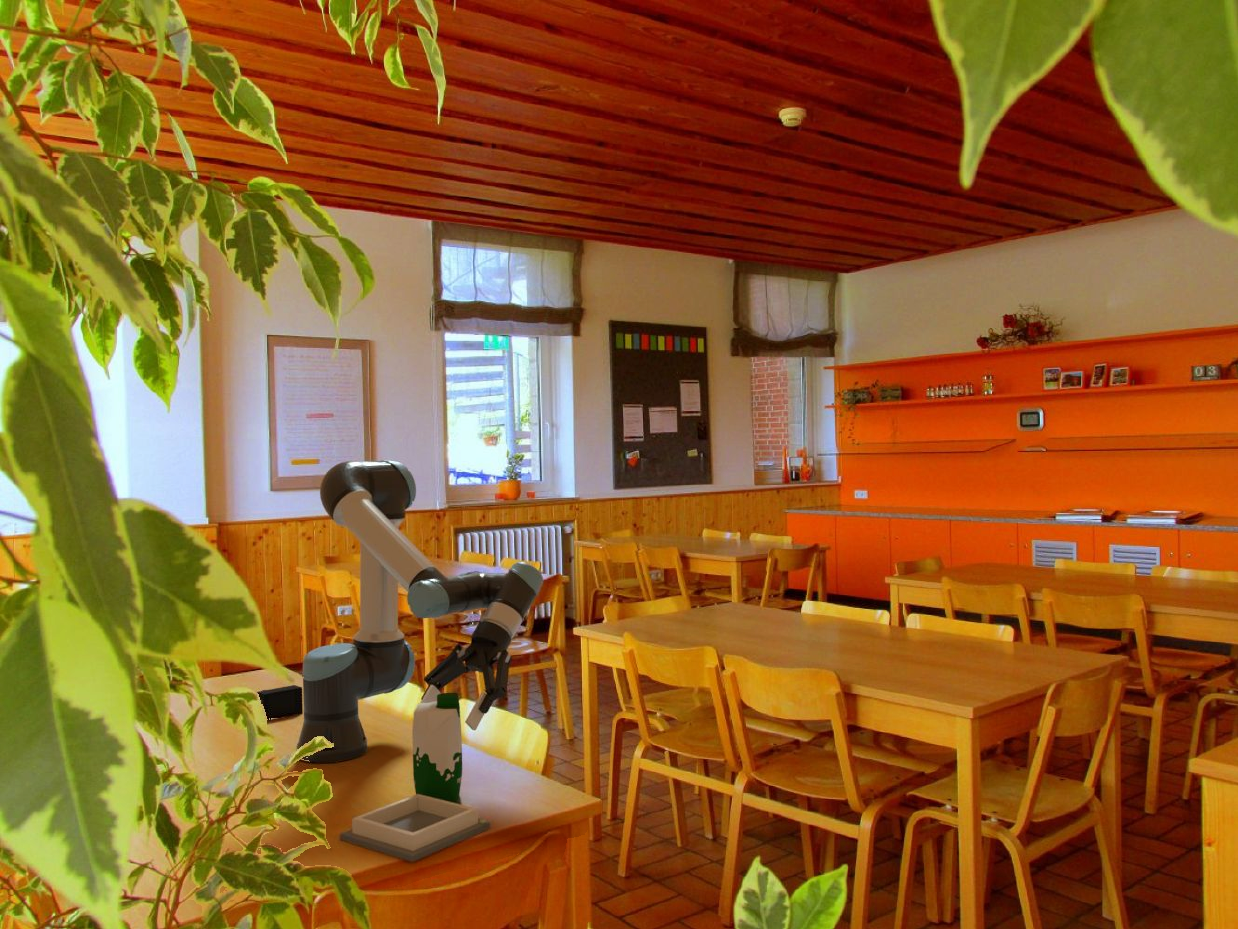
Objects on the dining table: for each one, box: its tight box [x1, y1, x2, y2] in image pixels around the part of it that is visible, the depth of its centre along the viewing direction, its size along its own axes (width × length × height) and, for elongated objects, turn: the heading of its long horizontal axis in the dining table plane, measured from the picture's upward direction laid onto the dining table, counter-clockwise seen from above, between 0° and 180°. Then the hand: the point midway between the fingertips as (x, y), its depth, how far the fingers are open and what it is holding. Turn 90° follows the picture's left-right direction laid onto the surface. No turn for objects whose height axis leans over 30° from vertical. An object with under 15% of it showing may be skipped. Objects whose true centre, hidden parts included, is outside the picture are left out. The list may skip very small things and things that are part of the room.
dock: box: [339, 793, 491, 863], centre depth 176 cm, size 18×18×4 cm
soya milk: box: [411, 692, 463, 804], centre depth 193 cm, size 9×9×20 cm
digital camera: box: [256, 684, 304, 722], centre depth 263 cm, size 10×5×7 cm, turn 135°
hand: (444, 721), depth 194 cm, fingers open, 13 cm apart
